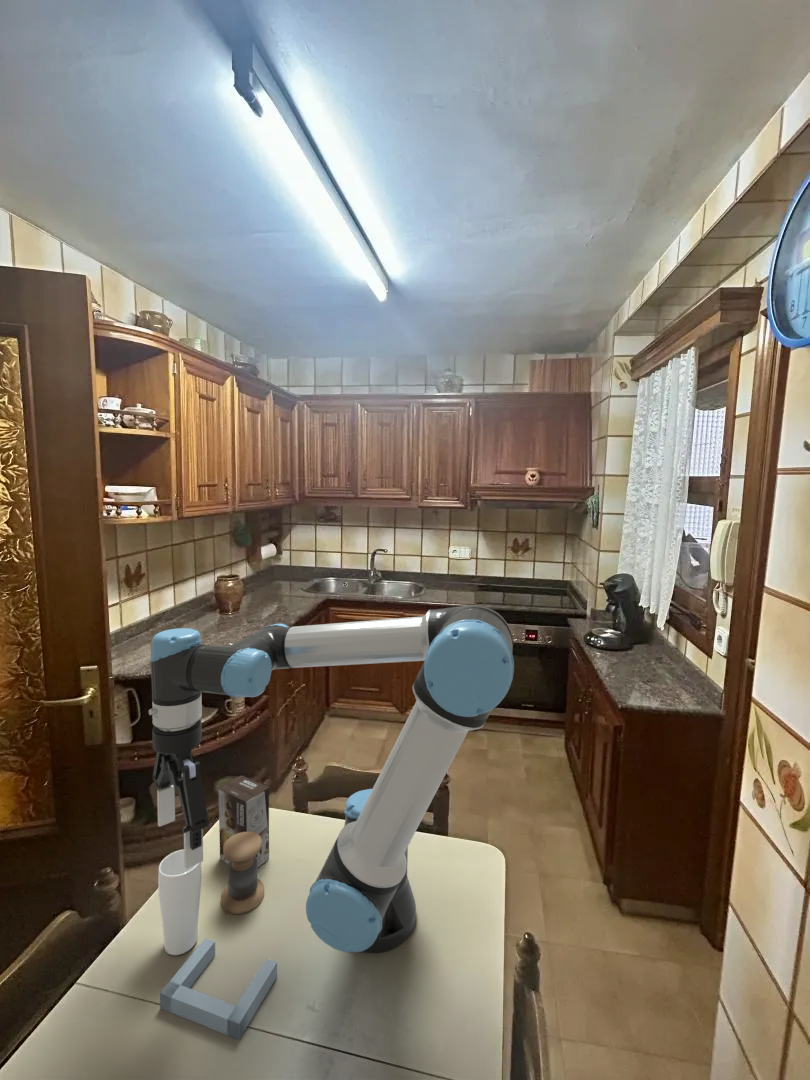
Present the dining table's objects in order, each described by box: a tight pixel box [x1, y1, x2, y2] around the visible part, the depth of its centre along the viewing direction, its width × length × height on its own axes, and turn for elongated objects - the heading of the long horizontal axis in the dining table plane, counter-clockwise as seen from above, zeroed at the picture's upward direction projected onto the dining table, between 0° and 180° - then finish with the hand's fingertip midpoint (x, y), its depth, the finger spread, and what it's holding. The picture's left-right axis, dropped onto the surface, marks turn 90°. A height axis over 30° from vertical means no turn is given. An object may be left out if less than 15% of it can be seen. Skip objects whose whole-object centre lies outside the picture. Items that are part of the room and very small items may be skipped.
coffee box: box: [218, 775, 270, 869], centre depth 106 cm, size 9×6×16 cm
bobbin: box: [220, 832, 265, 915], centre depth 96 cm, size 8×8×11 cm
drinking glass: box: [157, 848, 203, 956], centre depth 85 cm, size 7×7×15 cm
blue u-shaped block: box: [159, 937, 278, 1041], centre depth 78 cm, size 14×10×2 cm
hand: (179, 842), depth 85 cm, fingers open, 13 cm apart
